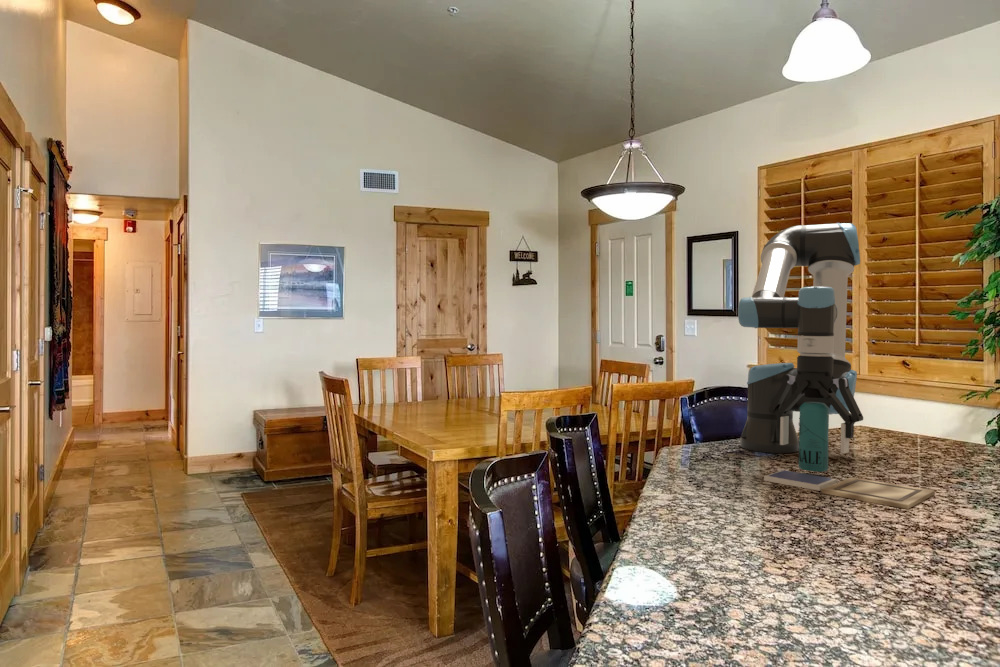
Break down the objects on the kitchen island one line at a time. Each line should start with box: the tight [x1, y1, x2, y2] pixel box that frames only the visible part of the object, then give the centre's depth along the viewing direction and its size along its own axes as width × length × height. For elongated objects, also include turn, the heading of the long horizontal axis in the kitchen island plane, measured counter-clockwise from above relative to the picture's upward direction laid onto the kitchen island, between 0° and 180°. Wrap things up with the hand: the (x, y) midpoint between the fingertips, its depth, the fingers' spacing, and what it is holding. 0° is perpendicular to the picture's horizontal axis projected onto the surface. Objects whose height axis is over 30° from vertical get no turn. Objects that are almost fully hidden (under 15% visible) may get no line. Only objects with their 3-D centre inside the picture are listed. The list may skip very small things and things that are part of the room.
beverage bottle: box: [797, 388, 830, 473], centre depth 159 cm, size 6×7×20 cm
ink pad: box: [763, 469, 838, 492], centre depth 152 cm, size 12×9×1 cm
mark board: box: [820, 476, 935, 510], centre depth 143 cm, size 16×16×1 cm
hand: (813, 448), depth 159 cm, fingers open, 13 cm apart
